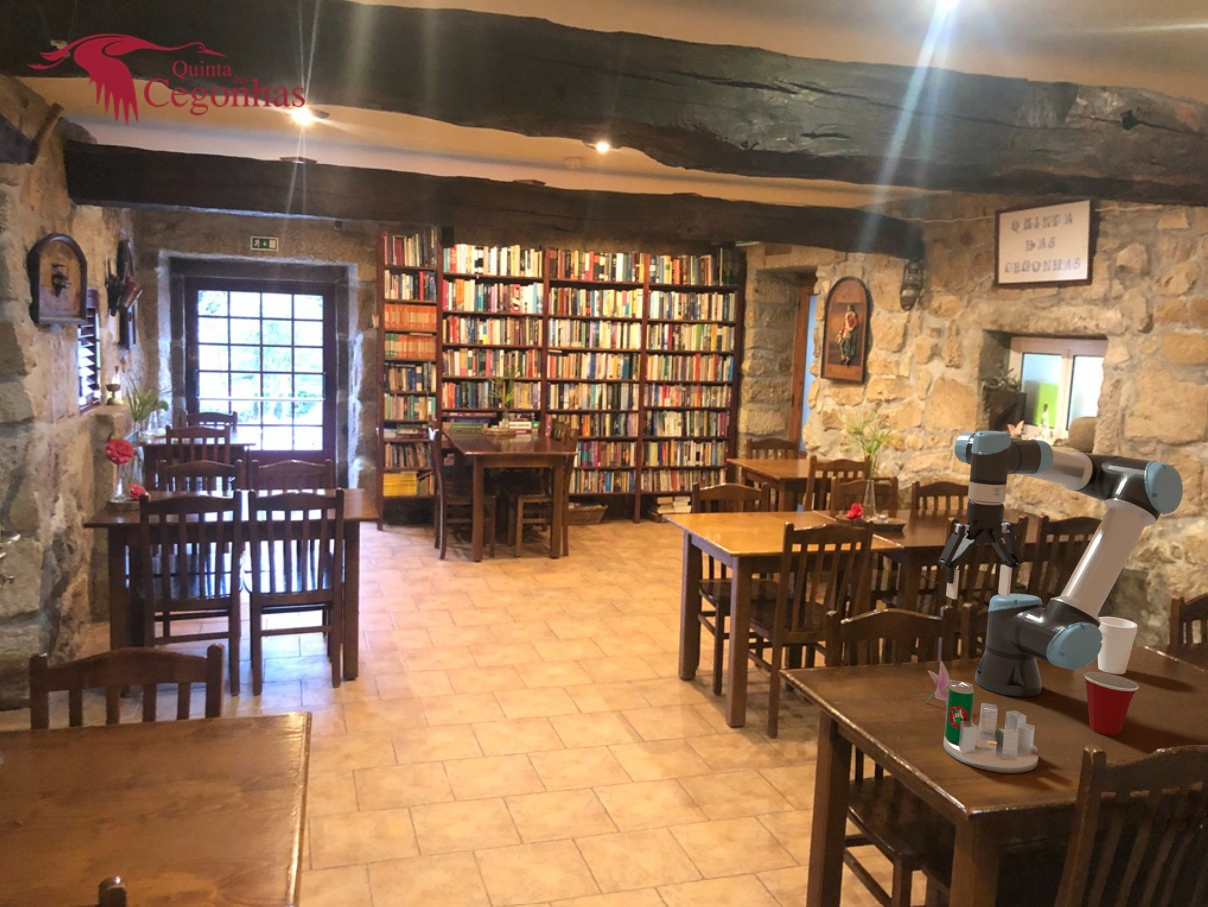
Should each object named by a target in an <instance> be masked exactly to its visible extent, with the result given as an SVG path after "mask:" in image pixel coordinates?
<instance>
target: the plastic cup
mask: <svg viewBox="0 0 1208 907" xmlns="http://www.w3.org/2000/svg"><path fill="white" fill-rule="evenodd" d="M1083 677H1084V681H1085V684H1086V685H1085V686H1086V687H1085V688H1086V695H1087V696H1086V698H1087V710H1088V711H1087V712H1088V717H1089V718H1088V721H1089V727H1090V729H1091V731H1094V733H1097V734H1100V733H1101V734H1100V735H1104V736H1111V737H1112V736H1114V737H1115V736H1119V735H1120V732H1121V731H1122V728H1123V724H1124V721H1125V720H1126V717H1127V714H1128V710H1129V707H1130V705H1131V701H1132V699H1133V698H1134V695H1135V693H1136V691H1138V690H1139V689H1140V686H1139V684H1138V683H1136V682H1135V681H1133V680H1131V679H1127V678H1125V677H1123V676H1118V675H1117V674H1113V673H1108V672H1103V671H1102V672H1101V671H1085V672H1084V673H1083Z"/></svg>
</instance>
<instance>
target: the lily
mask: <svg viewBox="0 0 1208 907" xmlns="http://www.w3.org/2000/svg"><path fill="white" fill-rule="evenodd" d="M927 672H928V673H929V676H930V678H932V680H933V682H934V684H935V686H936V690H935V692H934V693H933V694H931V695H930V696H929V697H928V698H927V700H926V701H925V702H924V703H925V704H927V703H928V702H929V701H930V699H931V698H932V697H934V698H936V699H937V700H941V701H944V703H945V705H946V706H947V698H948V687H949V686H950V685H951V682H953V681H955V680H953V679H950V675H949V672H948V670H947V668H946V666H945V664H944V663H943V661H942V660H940V661H939V672H938V674H937V673H936V672H933V671H932V670H927Z"/></svg>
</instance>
